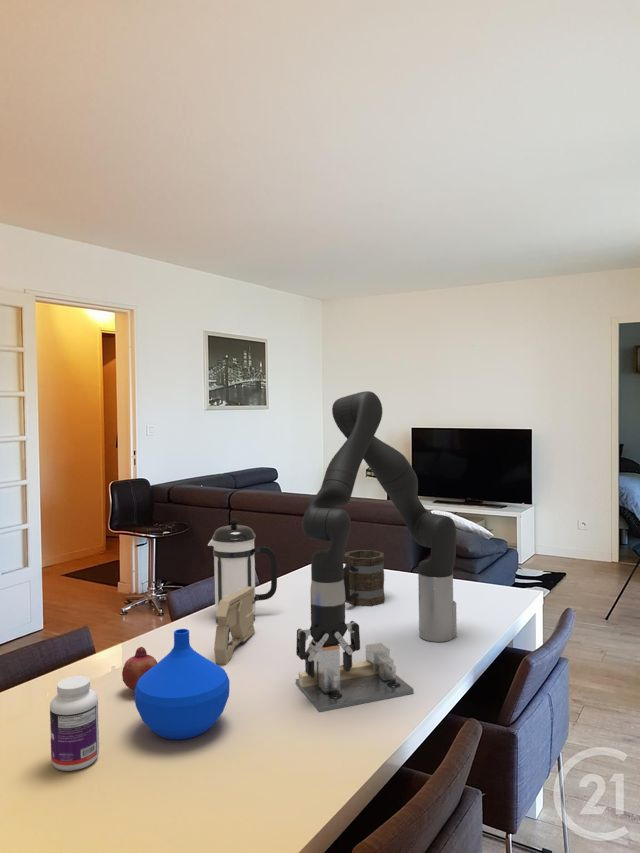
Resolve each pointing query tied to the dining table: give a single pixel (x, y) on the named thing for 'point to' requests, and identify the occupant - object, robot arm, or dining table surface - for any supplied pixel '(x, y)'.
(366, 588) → the mug
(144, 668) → the fruit
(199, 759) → the dining table surface
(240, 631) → the gun
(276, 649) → the dining table surface
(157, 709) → the vase
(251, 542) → the coffee press
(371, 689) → the bolt plate
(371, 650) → the fixed leg
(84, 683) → the pill bottle
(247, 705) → the dining table surface
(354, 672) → the divider rail
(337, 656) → the slide leg
